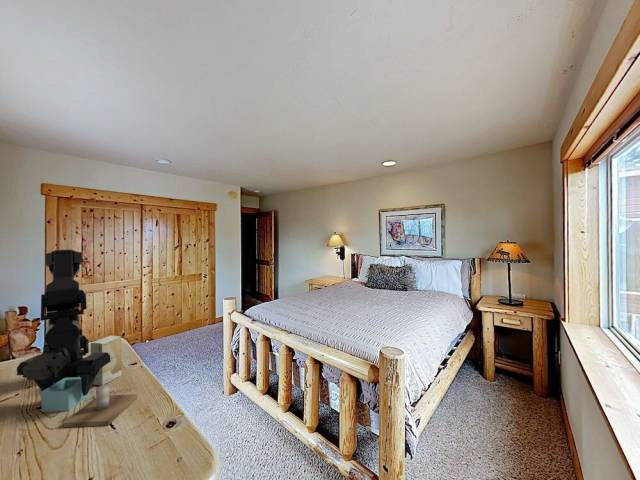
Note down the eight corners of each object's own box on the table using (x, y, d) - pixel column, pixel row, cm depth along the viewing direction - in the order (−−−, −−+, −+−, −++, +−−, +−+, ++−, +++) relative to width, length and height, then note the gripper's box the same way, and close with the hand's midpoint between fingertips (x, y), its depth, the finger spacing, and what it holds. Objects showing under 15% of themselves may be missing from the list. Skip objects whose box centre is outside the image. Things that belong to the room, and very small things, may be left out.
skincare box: (102, 386, 76) (101, 344, 76) (90, 384, 77) (88, 343, 77) (123, 374, 82) (122, 335, 82) (111, 373, 83) (110, 334, 83)
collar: (41, 411, 65) (41, 391, 65) (65, 395, 72) (64, 377, 72) (68, 410, 66) (68, 390, 65) (90, 395, 72) (89, 376, 72)
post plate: (63, 427, 60) (62, 401, 60) (98, 399, 70) (97, 377, 70) (108, 425, 60) (107, 399, 60) (137, 397, 70) (136, 375, 70)
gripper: (-12, 351, 60) (-9, 419, 60) (74, 348, 61) (77, 415, 61) (38, 332, 71) (41, 390, 71) (111, 330, 72) (112, 387, 72)
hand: (66, 395), depth 69 cm, fingers open, 9 cm apart
